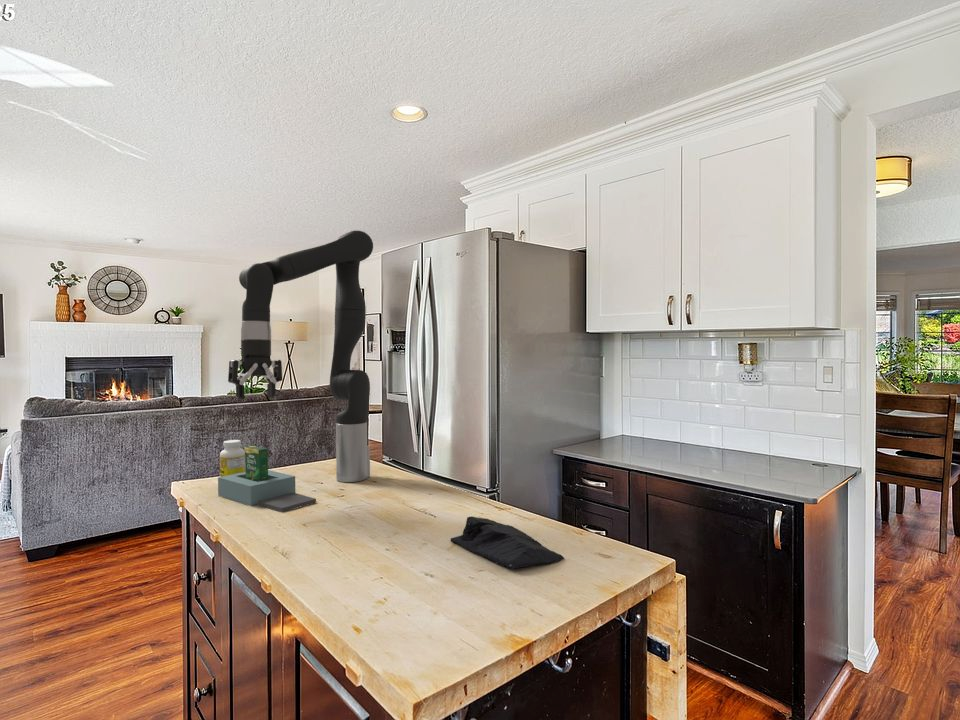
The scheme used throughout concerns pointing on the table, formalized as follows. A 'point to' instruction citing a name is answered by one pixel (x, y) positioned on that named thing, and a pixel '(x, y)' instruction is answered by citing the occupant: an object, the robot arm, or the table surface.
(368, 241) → the robot arm
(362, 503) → the table surface
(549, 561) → the black cloth
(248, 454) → the coffee box
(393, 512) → the table surface
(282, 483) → the box
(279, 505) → the rubber mat
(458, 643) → the table surface
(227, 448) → the supplement bottle
